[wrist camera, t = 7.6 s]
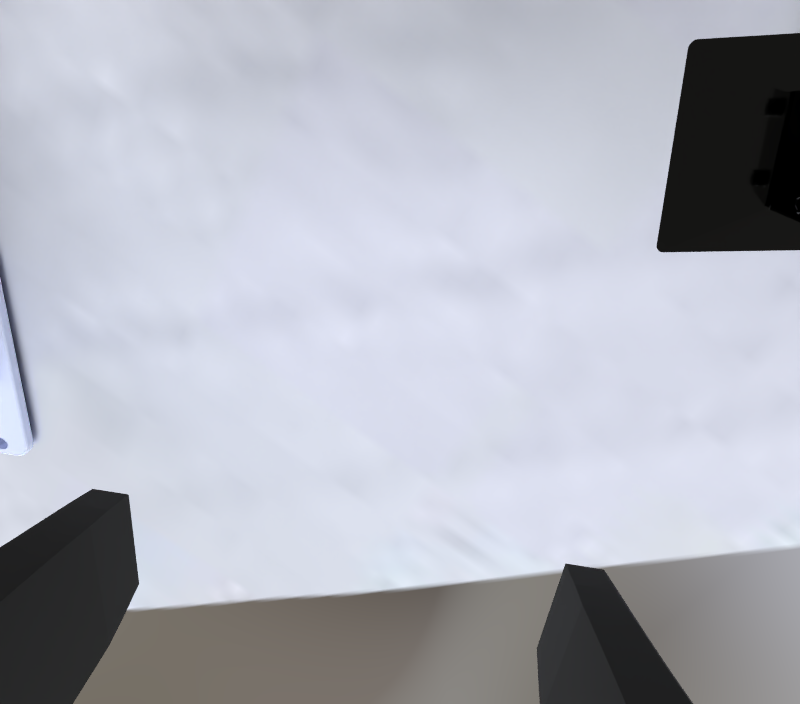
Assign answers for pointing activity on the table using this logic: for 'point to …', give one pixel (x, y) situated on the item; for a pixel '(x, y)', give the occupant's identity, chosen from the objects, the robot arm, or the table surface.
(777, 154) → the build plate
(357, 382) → the table surface
